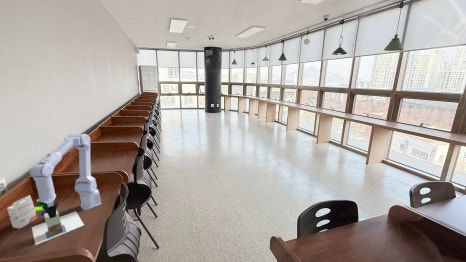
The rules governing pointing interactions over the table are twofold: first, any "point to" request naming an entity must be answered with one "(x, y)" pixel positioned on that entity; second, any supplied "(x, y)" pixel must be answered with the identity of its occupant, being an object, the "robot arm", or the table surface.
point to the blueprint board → (67, 223)
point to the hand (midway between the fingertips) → (51, 214)
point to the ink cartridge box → (22, 212)
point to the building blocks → (40, 208)
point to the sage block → (52, 219)
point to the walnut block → (55, 229)
